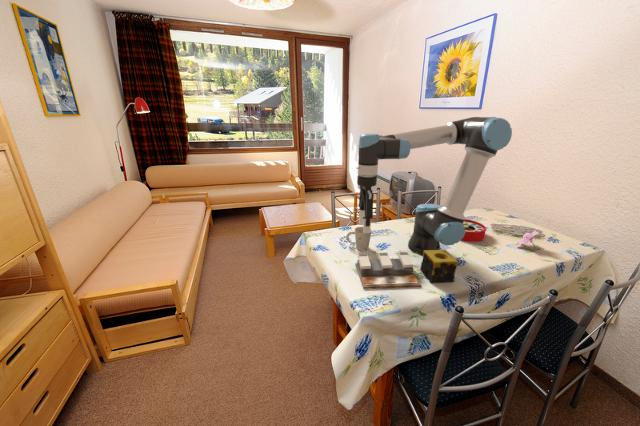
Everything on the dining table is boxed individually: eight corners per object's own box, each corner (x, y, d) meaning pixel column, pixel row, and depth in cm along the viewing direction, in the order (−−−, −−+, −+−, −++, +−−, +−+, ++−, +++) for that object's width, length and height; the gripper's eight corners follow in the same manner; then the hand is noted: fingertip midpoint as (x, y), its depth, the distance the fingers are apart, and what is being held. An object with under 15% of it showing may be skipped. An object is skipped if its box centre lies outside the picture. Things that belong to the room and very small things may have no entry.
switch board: (405, 263, 126) (405, 256, 124) (421, 286, 109) (422, 279, 108) (355, 265, 124) (355, 258, 123) (363, 289, 108) (364, 281, 106)
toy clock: (470, 235, 141) (438, 222, 157) (468, 245, 143) (436, 231, 159) (494, 227, 150) (461, 216, 166) (491, 237, 152) (459, 225, 168)
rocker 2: (406, 256, 122) (407, 251, 121) (412, 268, 116) (413, 264, 114) (397, 256, 122) (398, 252, 121) (403, 269, 115) (404, 264, 114)
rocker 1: (366, 257, 121) (367, 253, 120) (370, 270, 115) (371, 265, 113) (357, 257, 121) (358, 253, 120) (360, 270, 114) (361, 266, 113)
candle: (419, 270, 120) (422, 250, 117) (441, 269, 121) (445, 249, 118) (430, 284, 111) (433, 262, 107) (454, 282, 112) (458, 261, 108)
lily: (525, 242, 147) (518, 227, 146) (551, 243, 137) (544, 226, 135) (514, 254, 142) (507, 238, 141) (540, 256, 132) (532, 238, 131)
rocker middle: (386, 256, 122) (387, 252, 121) (391, 269, 115) (392, 265, 114) (377, 257, 122) (378, 252, 120) (382, 269, 115) (383, 265, 114)
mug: (370, 252, 136) (371, 234, 132) (344, 250, 138) (345, 231, 135) (370, 244, 143) (371, 227, 140) (346, 242, 146) (347, 225, 142)
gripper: (353, 169, 117) (351, 219, 125) (363, 181, 97) (360, 239, 105) (370, 169, 117) (367, 219, 125) (384, 181, 98) (379, 239, 106)
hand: (364, 228), depth 115 cm, fingers open, 8 cm apart
